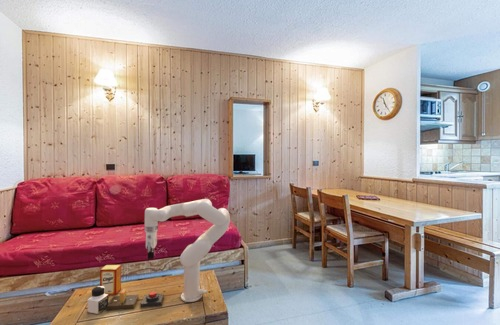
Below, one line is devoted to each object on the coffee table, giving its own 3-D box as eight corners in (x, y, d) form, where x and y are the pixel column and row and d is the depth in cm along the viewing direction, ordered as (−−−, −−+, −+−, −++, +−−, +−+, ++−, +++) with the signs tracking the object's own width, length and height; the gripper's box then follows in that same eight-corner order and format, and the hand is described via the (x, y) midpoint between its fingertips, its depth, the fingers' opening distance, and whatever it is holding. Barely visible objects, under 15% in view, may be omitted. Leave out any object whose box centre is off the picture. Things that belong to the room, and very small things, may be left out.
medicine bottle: (98, 314, 133) (98, 292, 133) (87, 312, 134) (87, 290, 134) (108, 306, 140) (108, 285, 140) (97, 304, 141) (97, 283, 141)
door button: (156, 294, 147) (156, 291, 147) (155, 297, 143) (155, 294, 143) (150, 294, 146) (150, 291, 146) (148, 298, 143) (148, 295, 143)
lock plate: (138, 298, 148) (138, 294, 148) (133, 308, 138) (133, 303, 138) (113, 300, 146) (113, 296, 146) (106, 310, 136) (106, 306, 136)
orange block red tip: (123, 297, 145) (123, 288, 145) (126, 297, 145) (126, 288, 145) (119, 303, 139) (119, 293, 139) (123, 302, 139) (123, 293, 139)
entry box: (163, 297, 150) (163, 290, 150) (160, 306, 141) (161, 299, 141) (144, 298, 148) (144, 292, 148) (140, 307, 139) (140, 300, 139)
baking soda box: (99, 295, 151) (100, 268, 151) (105, 289, 158) (105, 264, 158) (115, 295, 152) (116, 269, 152) (120, 289, 158) (121, 264, 158)
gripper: (155, 231, 145) (154, 263, 145) (159, 224, 159) (159, 253, 160) (141, 232, 143) (141, 263, 143) (147, 225, 158) (147, 253, 158)
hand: (150, 258), depth 152 cm, fingers closed
